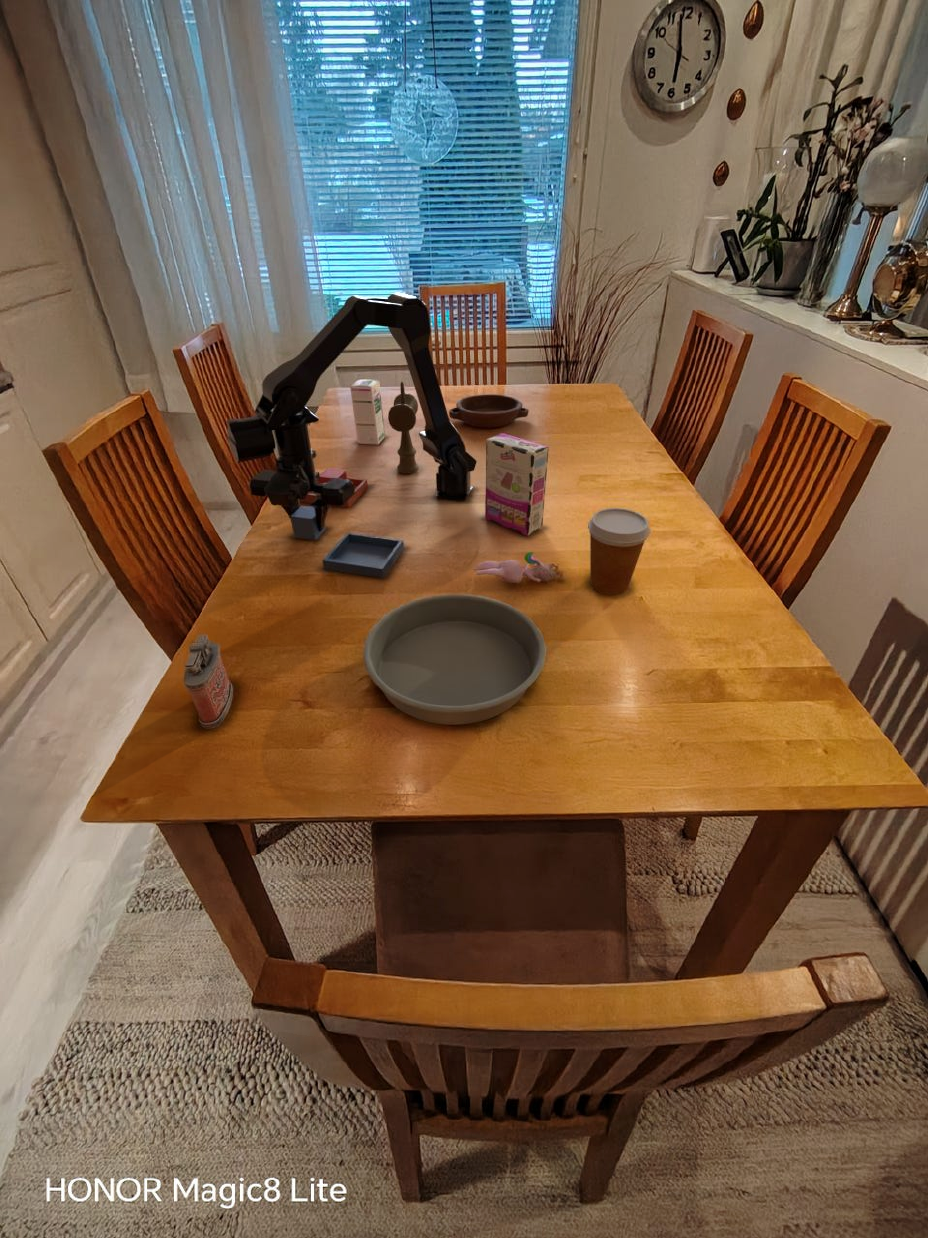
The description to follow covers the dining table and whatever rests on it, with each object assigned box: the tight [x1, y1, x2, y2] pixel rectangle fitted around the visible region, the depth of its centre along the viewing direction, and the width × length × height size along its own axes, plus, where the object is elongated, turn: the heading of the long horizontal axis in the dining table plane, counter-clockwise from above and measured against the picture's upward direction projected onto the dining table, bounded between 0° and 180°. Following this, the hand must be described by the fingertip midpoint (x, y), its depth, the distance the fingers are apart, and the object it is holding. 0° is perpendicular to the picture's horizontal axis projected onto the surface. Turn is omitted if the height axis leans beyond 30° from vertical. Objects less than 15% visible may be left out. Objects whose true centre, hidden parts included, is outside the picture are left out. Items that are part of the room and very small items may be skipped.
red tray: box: [299, 476, 369, 509], centre depth 127 cm, size 11×10×2 cm
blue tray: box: [322, 532, 405, 579], centre depth 105 cm, size 11×10×2 cm
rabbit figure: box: [473, 551, 564, 585], centre depth 98 cm, size 6×6×15 cm
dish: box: [448, 393, 530, 429], centre depth 162 cm, size 18×22×5 cm
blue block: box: [289, 505, 327, 541], centre depth 112 cm, size 4×4×4 cm
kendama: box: [387, 381, 419, 474], centre depth 131 cm, size 6×10×20 cm, turn 179°
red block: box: [318, 467, 348, 484], centre depth 125 cm, size 4×4×4 cm
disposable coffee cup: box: [587, 507, 651, 596], centre depth 95 cm, size 10×10×12 cm
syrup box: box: [349, 379, 386, 446], centre depth 148 cm, size 6×6×14 cm
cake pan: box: [362, 593, 547, 726], centre depth 81 cm, size 25×25×4 cm
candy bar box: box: [484, 432, 550, 537], centre depth 111 cm, size 11×5×16 cm, turn 47°
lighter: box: [183, 634, 234, 730], centre depth 74 cm, size 8×3×10 cm, turn 5°
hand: (309, 528), depth 113 cm, fingers closed on blue block, 4 cm apart
